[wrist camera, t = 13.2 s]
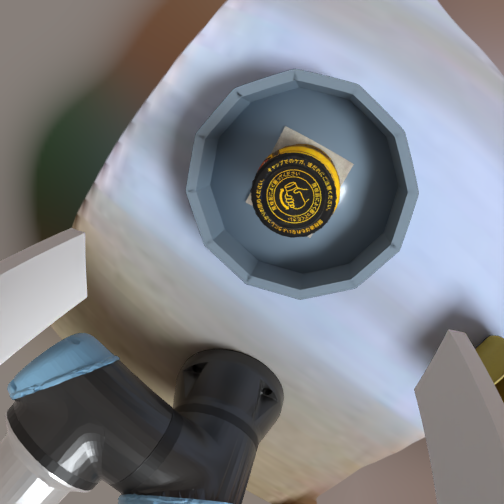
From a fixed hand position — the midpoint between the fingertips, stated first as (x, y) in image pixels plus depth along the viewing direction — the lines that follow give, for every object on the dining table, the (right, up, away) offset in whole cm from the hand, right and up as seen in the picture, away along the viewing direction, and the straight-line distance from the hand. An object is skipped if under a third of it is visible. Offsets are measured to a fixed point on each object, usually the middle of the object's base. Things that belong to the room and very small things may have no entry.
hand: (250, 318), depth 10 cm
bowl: (+5, +9, +21) cm, 23 cm away
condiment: (+5, +9, +20) cm, 22 cm away
